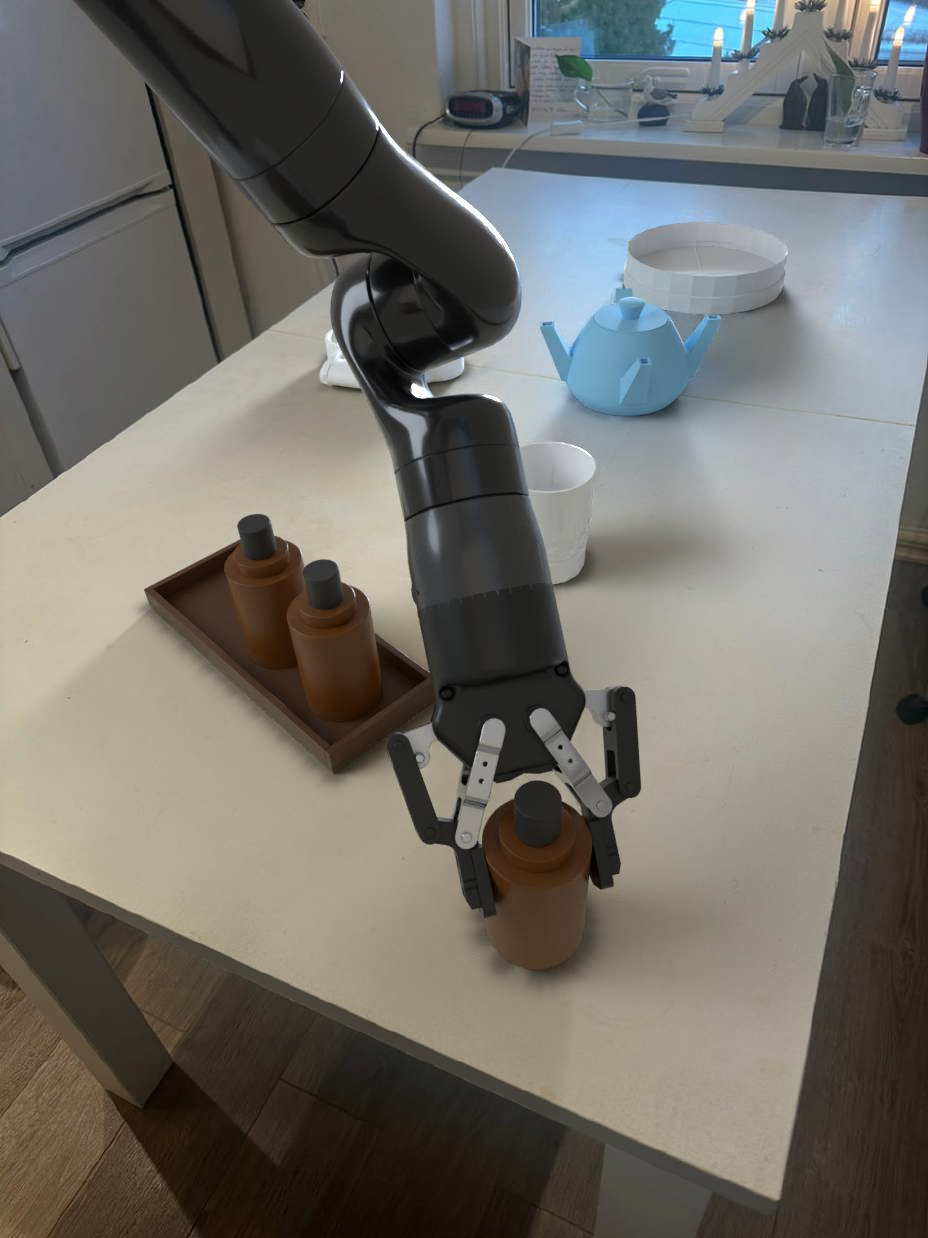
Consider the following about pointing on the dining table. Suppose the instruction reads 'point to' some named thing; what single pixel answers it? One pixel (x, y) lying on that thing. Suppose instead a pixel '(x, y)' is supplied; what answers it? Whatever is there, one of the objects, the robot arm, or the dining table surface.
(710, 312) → the dish
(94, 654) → the dining table surface
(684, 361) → the teapot
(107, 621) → the dining table surface
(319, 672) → the bottle near
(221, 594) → the tray
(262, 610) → the bottle mid
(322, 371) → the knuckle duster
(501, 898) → the bottle
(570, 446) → the white cup
